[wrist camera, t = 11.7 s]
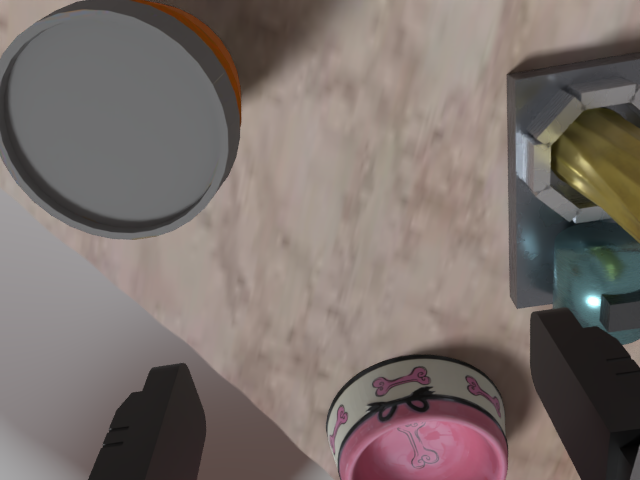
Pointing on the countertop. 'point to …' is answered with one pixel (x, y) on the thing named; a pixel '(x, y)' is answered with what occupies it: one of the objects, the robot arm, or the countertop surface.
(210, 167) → the reusable coffee cup
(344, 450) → the dog bowl
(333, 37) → the countertop surface
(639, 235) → the vase
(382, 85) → the countertop surface
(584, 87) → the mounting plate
